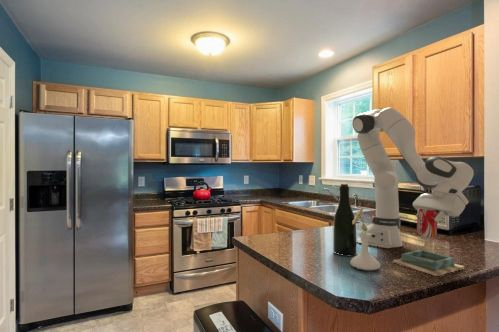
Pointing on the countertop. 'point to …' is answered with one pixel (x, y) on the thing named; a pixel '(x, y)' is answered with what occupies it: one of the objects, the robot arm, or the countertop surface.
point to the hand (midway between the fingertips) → (425, 219)
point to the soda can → (426, 223)
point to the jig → (429, 262)
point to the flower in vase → (364, 249)
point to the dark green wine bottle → (344, 225)
